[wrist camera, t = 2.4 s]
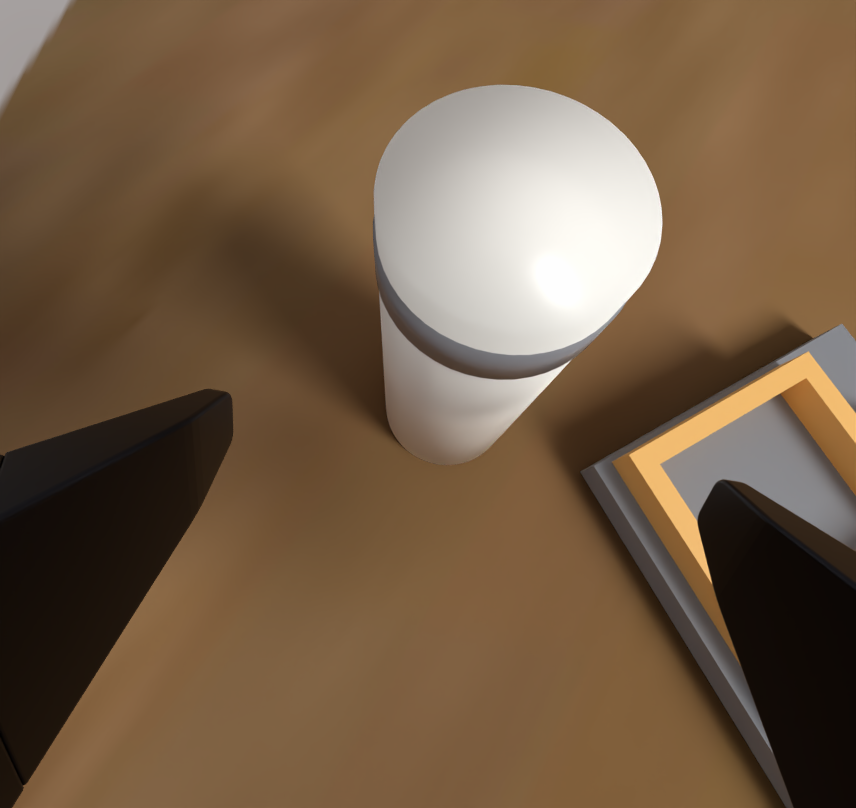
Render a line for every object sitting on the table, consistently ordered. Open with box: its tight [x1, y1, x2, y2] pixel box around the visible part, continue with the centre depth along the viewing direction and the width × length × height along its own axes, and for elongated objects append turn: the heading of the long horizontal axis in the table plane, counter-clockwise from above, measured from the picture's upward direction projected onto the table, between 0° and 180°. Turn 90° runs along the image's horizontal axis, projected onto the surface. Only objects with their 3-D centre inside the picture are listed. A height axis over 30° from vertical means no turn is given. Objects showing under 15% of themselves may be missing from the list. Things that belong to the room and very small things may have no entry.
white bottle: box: [373, 85, 662, 465], centre depth 15 cm, size 5×5×13 cm
